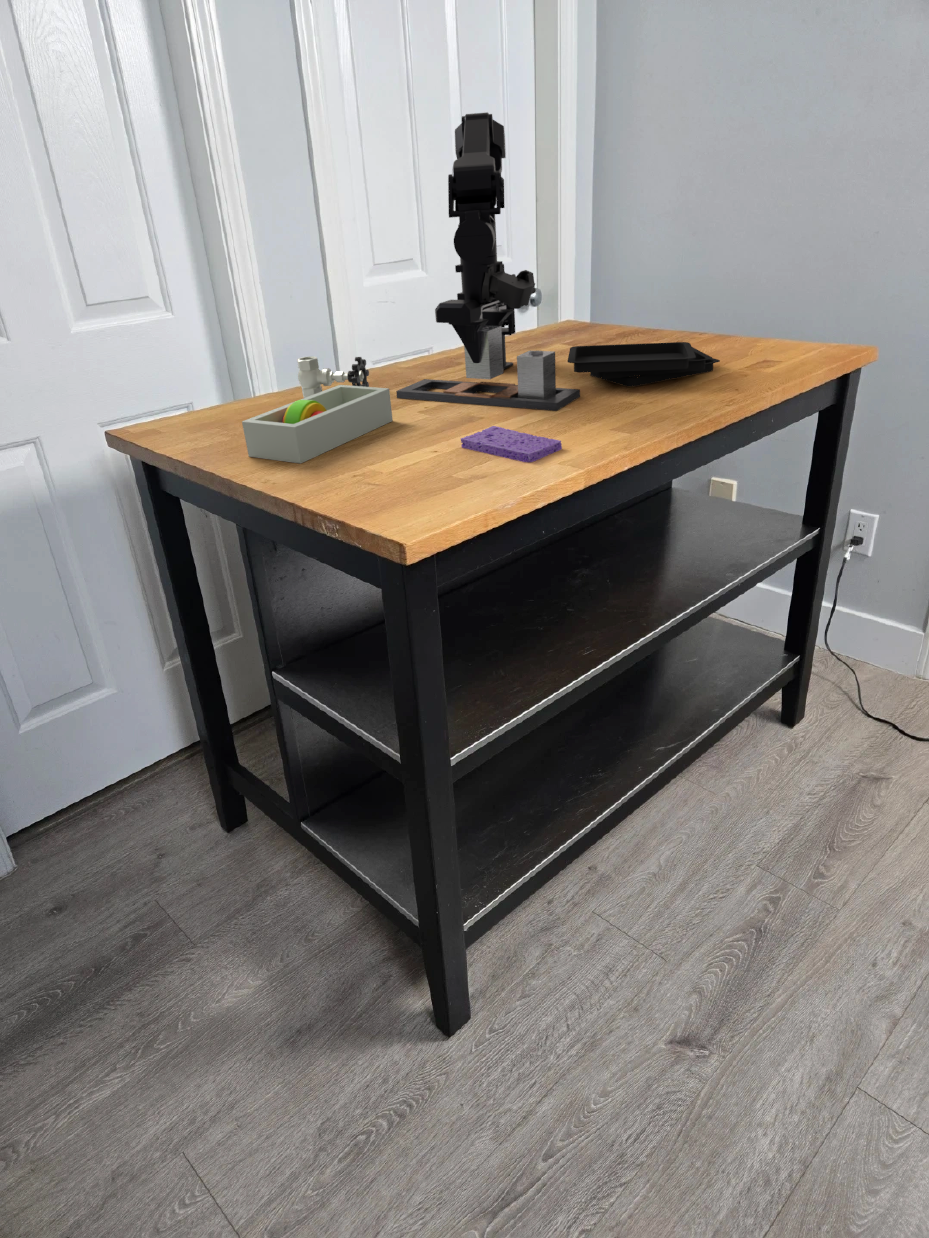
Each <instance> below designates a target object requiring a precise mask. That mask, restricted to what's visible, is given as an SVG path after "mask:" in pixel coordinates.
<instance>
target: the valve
mask: <svg viewBox="0 0 929 1238" xmlns="http://www.w3.org/2000/svg"><path fill="white" fill-rule="evenodd" d="M296 362H297V368H298V369H299V370H298V374H297V381H298V382H299V384H300V387H301V392H302V396H303V398H306V397H308V396H311V395H314V394H316V393H319V392H322V391H323V387H322V386H324V387H330V386H332V384H333V383H334V382H336V383H346V382H345V381H346V380H348V383H350V384H351V386H363V387H370V383H369V381H368V379H367V378H368V377H369V375H370V371H369V369H367V368H366V365H367V359H366V358H365V359H364V358H362V356H355V357H354V362H357V363H353V364H352V365H351V370H348V371H347V373H345V371H343V370H341V371H340V370H339V371H335V373H334V371H332V370H331V368H322V369H321V370H320V369H319V368H320V365H319V360H318V357H317V356H301V357H299V358H297V359H296Z"/></svg>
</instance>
